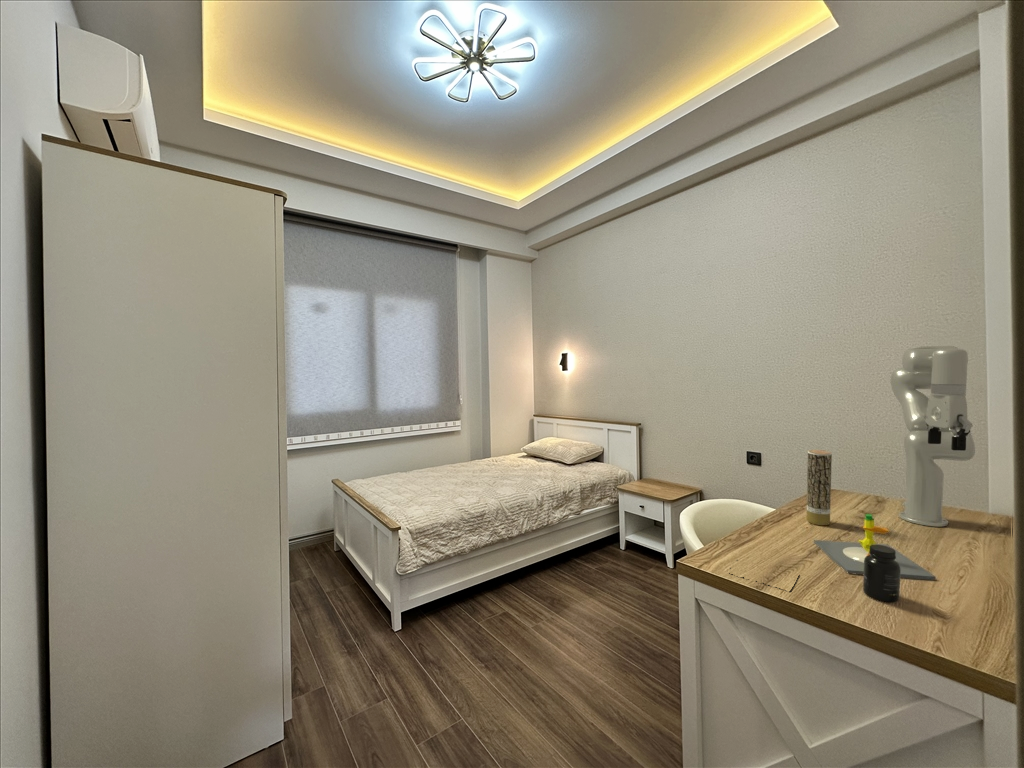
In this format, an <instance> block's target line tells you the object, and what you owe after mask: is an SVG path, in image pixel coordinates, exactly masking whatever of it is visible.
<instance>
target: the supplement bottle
mask: <svg viewBox="0 0 1024 768" xmlns="http://www.w3.org/2000/svg"><path fill="white" fill-rule="evenodd" d="M876 544H877V543H876ZM876 544H875V545H871V546H870V551H869V554H870V555H868V556H866V557H865V559H864V575H863V579H862V580H863V582H862V584H863V585H862V590H863V593H864V594H865V595H866V596H867V597H869V598H870V597H871V599H872V598H873V600H874V601H877V600H878V602H881V603H885V602H886V604H895V603H897V602H899V600H900V595H901V594H900V591H901V589H900V588H901V578H900V571H901V568H900V565H899V563H898V562H897V561H895V559H896V556H895V555H896V551H895V550H896V549H895V548H894V549H895V550H894V549H892V548H893V547H892V548H890V547H887V546H883V545H876Z"/></svg>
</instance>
